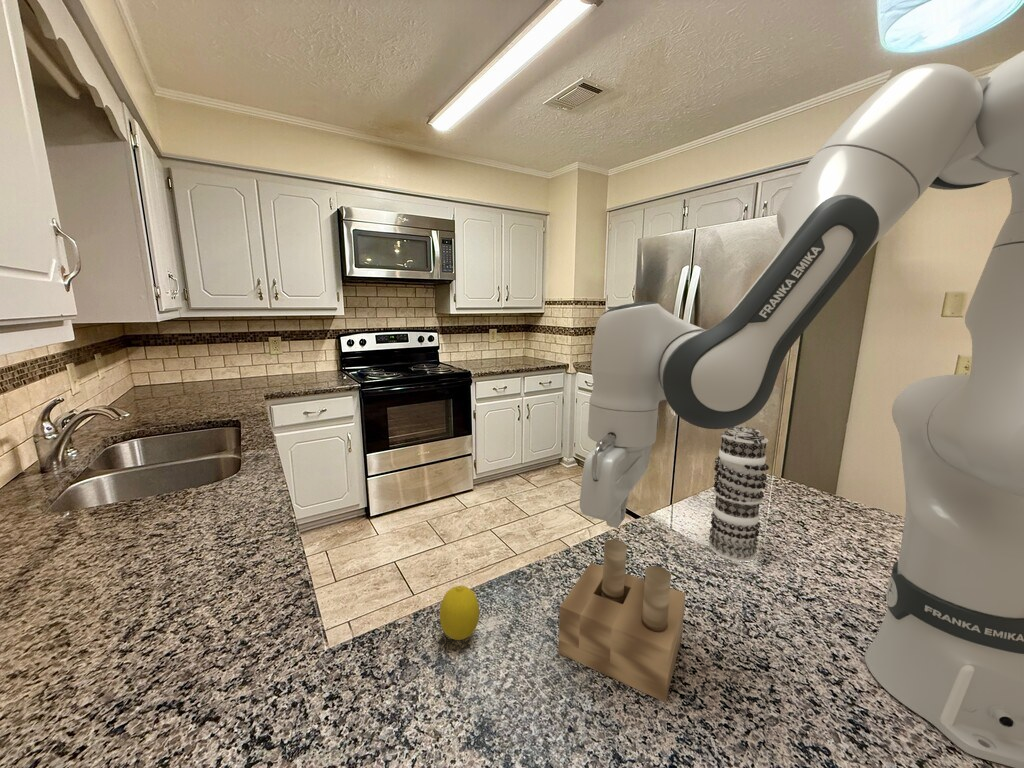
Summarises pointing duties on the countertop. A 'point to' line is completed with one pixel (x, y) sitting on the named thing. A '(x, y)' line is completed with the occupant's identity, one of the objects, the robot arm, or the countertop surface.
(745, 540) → the decorative candle
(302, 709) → the countertop surface
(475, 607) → the lemon
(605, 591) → the peg
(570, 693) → the countertop surface
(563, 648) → the wooden peg hole block
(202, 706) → the countertop surface
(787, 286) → the robot arm
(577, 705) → the countertop surface
